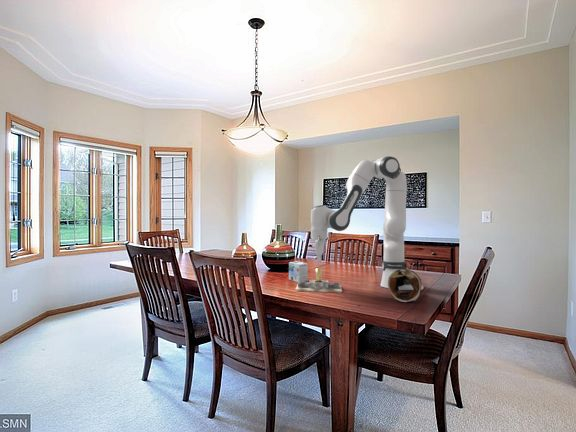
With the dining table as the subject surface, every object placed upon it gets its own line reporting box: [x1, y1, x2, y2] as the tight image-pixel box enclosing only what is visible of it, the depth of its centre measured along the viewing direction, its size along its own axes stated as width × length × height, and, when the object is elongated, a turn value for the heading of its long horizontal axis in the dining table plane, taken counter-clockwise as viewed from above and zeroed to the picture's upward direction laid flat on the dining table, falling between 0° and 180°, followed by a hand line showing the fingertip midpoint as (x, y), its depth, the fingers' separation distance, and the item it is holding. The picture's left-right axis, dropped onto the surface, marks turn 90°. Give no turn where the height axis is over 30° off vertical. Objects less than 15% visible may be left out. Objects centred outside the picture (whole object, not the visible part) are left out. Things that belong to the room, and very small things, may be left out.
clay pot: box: [387, 268, 423, 303], centre depth 168 cm, size 15×15×25 cm
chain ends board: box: [294, 279, 343, 294], centre depth 182 cm, size 24×12×4 cm, turn 83°
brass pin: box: [315, 267, 323, 283], centre depth 182 cm, size 3×3×10 cm
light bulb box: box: [288, 260, 309, 283], centre depth 204 cm, size 11×7×11 cm, turn 37°
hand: (319, 261), depth 182 cm, fingers open, 8 cm apart
